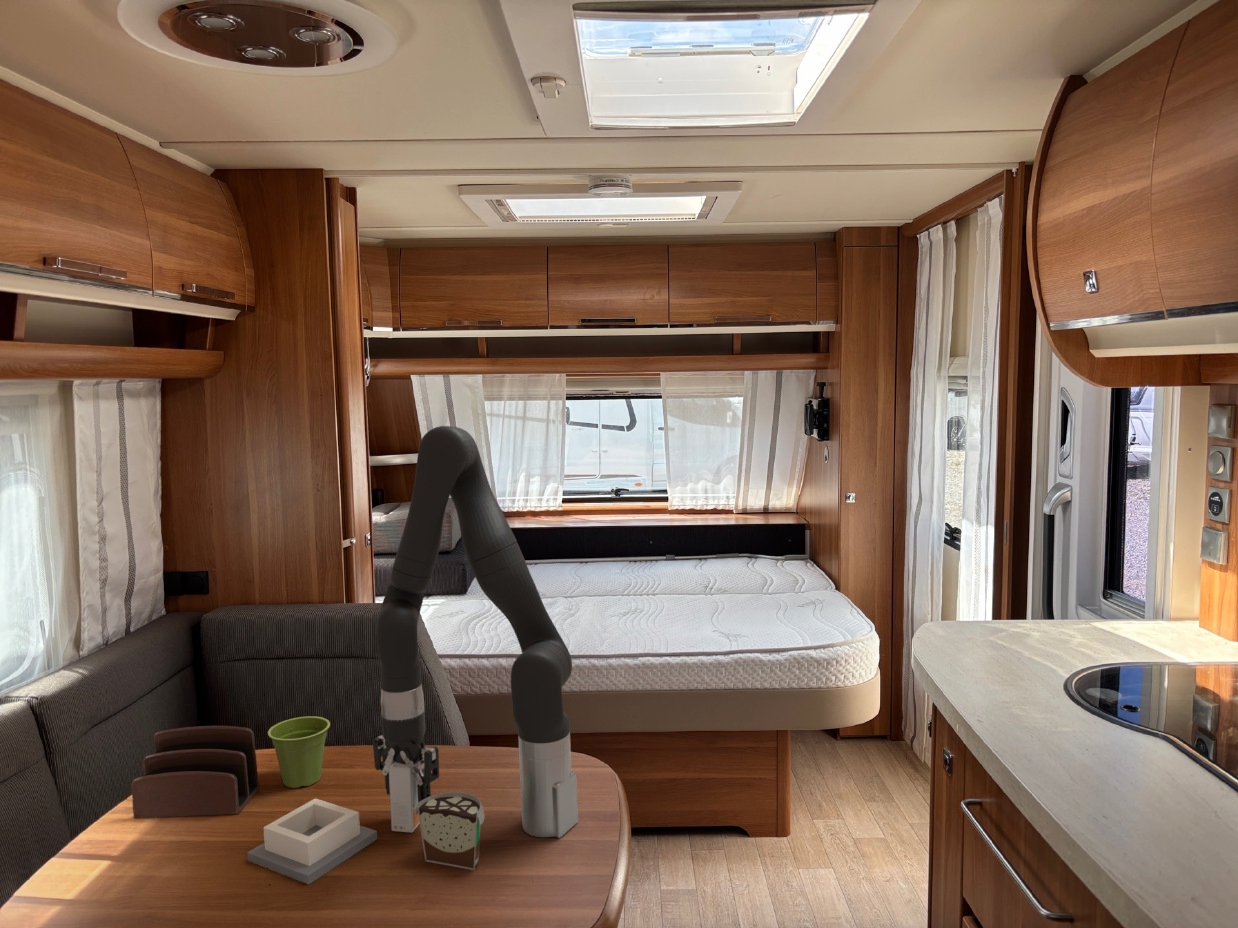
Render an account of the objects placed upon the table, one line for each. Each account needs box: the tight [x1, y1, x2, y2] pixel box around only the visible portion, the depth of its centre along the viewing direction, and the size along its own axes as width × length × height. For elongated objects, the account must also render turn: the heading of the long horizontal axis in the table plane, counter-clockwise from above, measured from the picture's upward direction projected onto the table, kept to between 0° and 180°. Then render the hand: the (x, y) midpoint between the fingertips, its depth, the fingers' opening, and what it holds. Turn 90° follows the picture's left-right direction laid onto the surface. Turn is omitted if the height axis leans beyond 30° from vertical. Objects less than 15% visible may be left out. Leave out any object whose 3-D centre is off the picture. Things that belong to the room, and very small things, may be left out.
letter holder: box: [130, 725, 260, 819], centre depth 163 cm, size 10×20×14 cm, turn 91°
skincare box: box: [389, 762, 424, 833], centre depth 153 cm, size 6×4×12 cm
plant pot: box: [267, 715, 331, 789], centre depth 171 cm, size 12×12×11 cm
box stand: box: [246, 798, 378, 885], centre depth 145 cm, size 15×15×6 cm
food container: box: [415, 791, 486, 871], centre depth 142 cm, size 12×6×10 cm, turn 71°
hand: (408, 797), depth 153 cm, fingers open, 7 cm apart
